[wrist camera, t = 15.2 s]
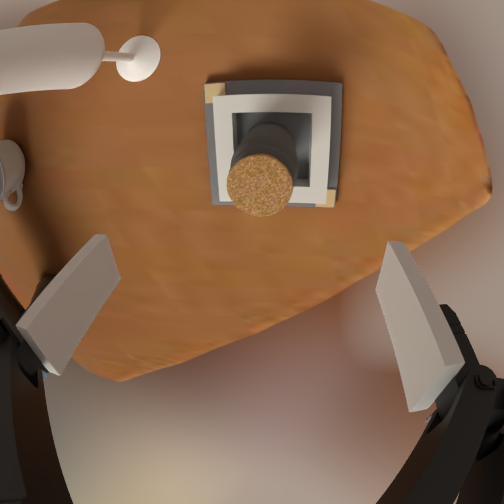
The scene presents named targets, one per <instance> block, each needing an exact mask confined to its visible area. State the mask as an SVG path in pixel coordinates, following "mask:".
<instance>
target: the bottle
mask: <svg viewBox="0 0 504 504" xmlns="http://www.w3.org/2000/svg"><path fill="white" fill-rule="evenodd" d="M297 175H298V159H297V153H296V147H295V142H294V138H293V136H292V134H291V133H290V131H289V130H288V129H287V128H286V127H284V126H283V125H281V124H279V123H275V122H264V123H261V124H258V125H257V126H255V127H254V128H253V129H252V130H251V131H250V132H249V133H248V134H247V135H246V137H245V138H244V139H243V140H242V142H241V143H240V144H239V146H238V147H237V149H236V150H235V152H234V154H233V156H232V159H231V166H230V170H229V174H228V177H227V191H228V195H229V197H230V199H231V201H232V202H233V203H234V205H235V206H236V207H237V208H239V209H240V210H241V211H243V212H245V213H247V214H250V215H253V216H269V215H272V214H275V213H277V212H279V211H280V210H282V209H283V208H284V207H285V206H286V205H287V203H288V202H289V200H290V198H291V196H292V192H293V188H294V184H295V181H296V179H297Z"/></svg>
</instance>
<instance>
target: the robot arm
mask: <svg viewBox="0 0 504 504" xmlns="http://www.w3.org/2000/svg"><path fill="white" fill-rule="evenodd" d="M120 280H121V277H120V274H119V272H118V269H117V266H116V263H115V259H114V256H113V253H112V250H111V247H110V243H109V240H108V237H107V234H95V235H94V236H93V237H92V238H91V239H90V240H89V241H88V242H87V243H86V244H85V245H84V246H83V247H82V248H81V249H80V250H79V251H78V252H77V254H76V255H75V256H74V257H73V258H72V259H71V260H70V261H69V262H68V263H67V264H66V265H65V266H64V267H63V269H62V270H61V271H60V272H59V273H58V274H57V275H56V276H53V275H47V276H45V277H43V278H42V280H41V281H40V282H39V283H38V285H37V287H36V290H35V293H34V295H33V297H32V300H31V303H30V305H29V307H28V308H27V309H26V310H25V309H24V308H23V306H22V305H21V303H20V302H19V301H18V299H17V298H16V297H15V295H14V294H13V292H12V291H11V290H10V288H9V287H8V285H7V284H6V282H5V281H4V279H3V278H2V275H1V274H0V504H73V502H72V499H71V497H70V494H69V491H68V488H67V486H66V482H65V480H64V476H63V473H62V470H61V467H60V463H59V460H58V456H57V452H56V448H55V445H54V440H53V436H52V432H51V427H50V422H49V416H48V411H47V405H46V399H45V391H44V384H43V380H44V379H45V377H46V376H47V375H48V373H49V372H51V373H54V374H56V375H59V376H61V374H62V372H63V371H64V369H65V367H66V365H67V363H68V362H69V360H70V358H71V357H72V355H73V353H74V351H75V350H76V348H77V346H78V345H79V343H80V341H81V340H82V338H83V336H84V335H85V333H86V331H87V330H88V328H89V327H90V325H91V323H92V322H93V320H94V319H95V317H96V316H97V314H98V313H99V311H100V309H101V308H102V306H103V305H104V303H105V302H106V300H107V299H108V297H109V296H110V294H111V293H112V291H113V290H114V289H115V287H116V286H117V284H118V283H119V281H120ZM376 293H377V296H378V299H379V302H380V305H381V308H382V311H383V314H384V317H385V321H386V324H387V327H388V331H389V334H390V337H391V341H392V344H393V348H394V351H395V355H396V359H397V363H398V366H399V370H400V374H401V378H402V382H403V387H404V391H405V395H406V400H407V404H408V409H409V412H413V411H419V410H425V409H428V408H429V406H430V405H431V404H432V403H433V402H434V401H435V403H436V406H437V409H436V410H435V411H434V412H433V413H432V414H431V415H430V416H429V417H428V418H427V420H426V421H425V422H424V423H428V422H429V423H428V425H427V426H426V428H425V430H424V432H423V434H422V436H421V437H420V439H419V441H418V443H417V444H416V446H415V448H414V450H413V451H412V453H411V455H410V456H409V458H408V459H407V461H406V462H405V464H404V465H403V467H402V468H401V470H400V472H399V473H398V474H397V476H396V477H395V479H394V480H393V482H392V483H391V484H390V486H389V487H388V489H387V490H386V491H385V493H384V494H383V495H382V497H381V498H380V499H379V500H378V502H377V503H376V504H453V503H454V501H455V499H456V497H457V496H458V494H459V496H458V499H457V503H456V504H504V379H501V378H496V375H495V374H494V372H493V371H492V370H491V369H489V368H488V367H486V366H483V365H480V364H479V362H478V360H477V358H476V355H475V353H474V350H473V348H472V346H471V344H470V342H469V339H468V337H467V335H466V334H465V331H464V329H463V327H462V326H461V323H460V321H459V319H458V317H457V315H456V313H455V312H454V311H453V310H452V309H451V308H450V307H449V306H448V305H447V304H442V305H439V304H438V302H437V300H436V298H435V296H434V294H433V293H432V291H431V289H430V287H429V285H428V283H427V281H426V280H425V278H424V276H423V274H422V273H421V271H420V269H419V267H418V266H417V264H416V262H415V260H414V259H413V257H412V255H411V254H410V252H409V250H408V249H407V247H406V245H405V244H404V242H402V241H388V243H387V247H386V251H385V255H384V259H383V263H382V267H381V271H380V275H379V279H378V282H377V286H376ZM459 492H460V493H459Z"/></svg>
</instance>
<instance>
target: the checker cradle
mask: <svg viewBox="0 0 504 504" xmlns="http://www.w3.org/2000/svg"><path fill="white" fill-rule="evenodd" d="M203 85H204V103H205V118H206V133H207V146H208V159H209V171H210V183H211V194H212V205H234V203H233V202H232V201H231V199H230V197H229V195H228V191H227V177H228V174H229V170H230V166H231V159H232V156H233V154H234V152H235V150H236V149H237V147H238V146H239V144H240V143H241V142H242V140H243V139H244V138H245V137H246V135H247V134H248V133H249V132H250V131H251V130H252V129H253V128H254V127H255V126H257V125H258V124H261V123H264V122H275V123H279V124H281V125H283V126H284V127H286V128H287V129H288V130H289V131H290V133H291V134H292V136H293V138H294V142H295V147H296V153H297V159H298V175H297V179H296V181H295V184H294V188H293V192H292V196H291V198H290V200H289V202H288V203H287V205H286V206H301V207H324V208H335V204H336V194H337V183H338V171H339V157H340V141H341V119H342V83H336V82H324V81H308V80H236V81H221V82H209V83H203Z"/></svg>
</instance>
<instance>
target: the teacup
mask: <svg viewBox="0 0 504 504" xmlns="http://www.w3.org/2000/svg"><path fill="white" fill-rule="evenodd" d="M24 174H25V158H24V155H23V152H22V151H21V149H20V147H19V146H18V145H17V144H16V143H15V142H13V141H11V140H2V141H0V201H1V200H2V199H3V203H4V206H5V208H6V209H7V210H9V211H15V210H17V209H18V208H19V207H20V205H21V203H22V199H23V195H22V188H23V184H22V181H23V178H24ZM15 191H17V197H18V200H17V203H16V204H11V203H10V202H9V200H8V198H9V196H10V195H11V194H12V193H13V192H15Z"/></svg>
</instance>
